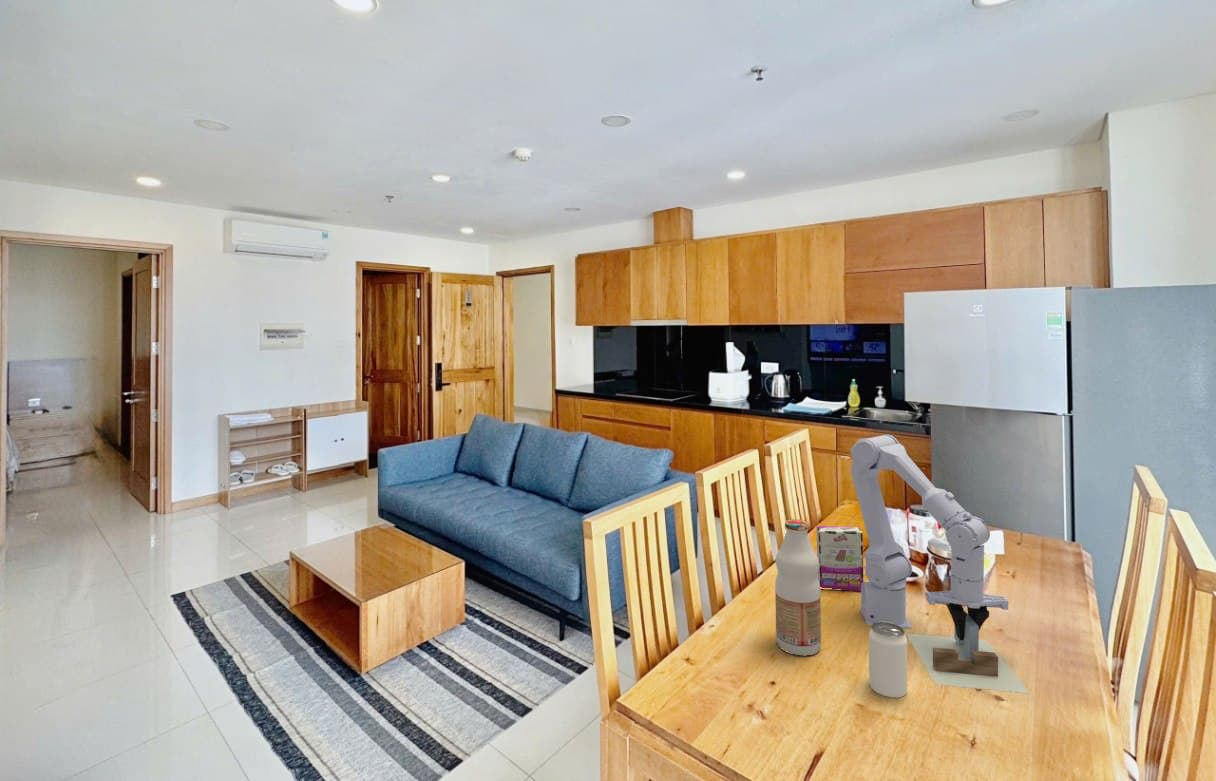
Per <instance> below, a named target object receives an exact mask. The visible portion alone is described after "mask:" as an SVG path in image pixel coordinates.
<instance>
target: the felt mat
mask: <svg viewBox="0 0 1216 781" xmlns="http://www.w3.org/2000/svg"><path fill="white" fill-rule="evenodd" d="M905 636H906V638H908V640H909V642H910V643H911V645H912V647H913V649H914V650H915V652H916V653H917V656H918V658H919V660H920V661H921V662H922V664H923V666H924V668H925V670H926V671H927V673H928V674H929V676H930V677H931V680H932V681H933V684H934V685H936V686H943V687H944V686H945V687H946V686H947V687H956V688H957V687H958V688H967V689H976V690H987V691H996V692H997V691H998V692H1007V693H1017V694H1019V693H1020V694H1030V695H1032V693H1031V691H1030V690H1029V689H1028V688H1027V687H1026V685H1024V683H1023V682H1022V680H1020V678H1019V677H1018V676H1017V674H1015V673H1014V671H1013V670H1012V669H1011V667H1009V665H1008V664H1007V663H1006V662H1005V661H1004V659H1003V658H1002V657H1001V656H1000V654H999V653H998V652H997V651H996V649H994V648H993V646H992V645H991V644H990V642H988V640H987V639H984V638H983V639H980V638H979V646H978V651H982V652H994V653H995V654H996V655H997V656H998V677H996V676H985V675H974V674H963V673H952V672H941V671H935V669H934V668H933V648H945V649H955V650H956V652H957V653H958V660H963V661H972V659H969V658H968V656H967V655H966V654H965V645H959V644H958V643H957V641H956V640H955V639H954V636H942V635H929V634H917V633H915V634H914V633H905Z"/></svg>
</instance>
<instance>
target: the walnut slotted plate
mask: <svg viewBox="0 0 1216 781" xmlns="http://www.w3.org/2000/svg"><path fill="white" fill-rule="evenodd" d="M933 668H934V669H935V671H941V672H952V673H963V674H974V675H985V676H996V677H998V656H997V655H996V654H995V653H994V652H982V651H972V661H963V660H958V653H957V652H956V650H955V649H945V648H933Z"/></svg>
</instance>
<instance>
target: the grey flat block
mask: <svg viewBox="0 0 1216 781" xmlns="http://www.w3.org/2000/svg"><path fill="white" fill-rule="evenodd" d="M963 610H964V611H965V613H966V614H967V615H966V619H965V625H964V634H965V635H964V640H960V639H959V638H958V637H957V634H956V629H955V628H954V629H953V630H954V636H953V637H954V639H955V640H956V641H957V643H958V644H959V645H965V654H966V655H967V656H968V658H969V659H972V651H978V646H979V639H980V637H979V635H980V633H979V632H980V630H979V627H978V625H977V624H976V623H975V622H974V621H973V619H972V618H971V617H970V616H969V615H968V611H966V610H965V609H963Z"/></svg>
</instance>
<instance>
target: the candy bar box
mask: <svg viewBox="0 0 1216 781" xmlns="http://www.w3.org/2000/svg"><path fill="white" fill-rule="evenodd" d="M863 535H864V534H863V531H862V530H861V528H860V527H859V526H836V525H834V526H831V525H829V526H828V525H827V526H826V525H825V526H824V525H817V526H816V555H817V556H818V559H819V571H818V574H817V578H818V580H819V583H820V587H822V588H832V589H841V590H853V591H852V592H860V591H861V583H862V582H864V545H863V544H864V543H863V542H864V540H863V539H864V538H863Z"/></svg>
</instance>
